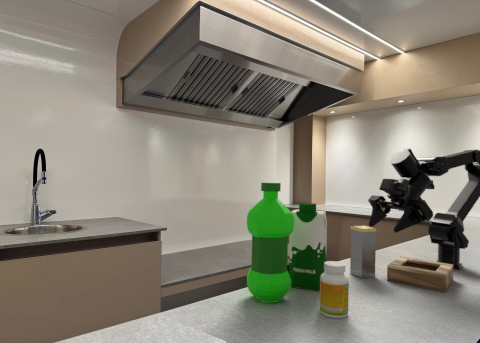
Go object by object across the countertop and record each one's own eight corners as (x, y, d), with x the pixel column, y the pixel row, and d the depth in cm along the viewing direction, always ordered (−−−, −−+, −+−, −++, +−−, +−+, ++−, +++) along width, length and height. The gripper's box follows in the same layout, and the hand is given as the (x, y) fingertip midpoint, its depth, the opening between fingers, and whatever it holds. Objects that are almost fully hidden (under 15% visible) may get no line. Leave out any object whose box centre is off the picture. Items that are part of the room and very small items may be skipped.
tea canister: (363, 271, 94) (364, 225, 95) (375, 276, 90) (376, 228, 90) (349, 273, 93) (350, 226, 93) (361, 278, 88) (362, 228, 88)
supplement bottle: (349, 320, 62) (350, 268, 63) (319, 317, 64) (321, 266, 64) (346, 309, 68) (347, 261, 68) (319, 306, 69) (320, 259, 69)
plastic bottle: (300, 296, 74) (302, 183, 74) (275, 311, 66) (278, 183, 66) (262, 286, 80) (264, 181, 80) (235, 299, 72) (237, 182, 72)
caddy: (400, 270, 97) (400, 256, 97) (452, 279, 89) (453, 264, 89) (387, 280, 87) (387, 265, 87) (445, 292, 79) (445, 275, 79)
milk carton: (285, 288, 80) (287, 203, 80) (292, 277, 88) (294, 200, 88) (323, 293, 77) (325, 205, 77) (327, 281, 85) (328, 202, 85)
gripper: (373, 169, 105) (343, 205, 100) (426, 169, 87) (392, 212, 83) (392, 194, 107) (364, 230, 103) (447, 199, 90) (415, 242, 86)
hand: (381, 228), depth 94 cm, fingers open, 9 cm apart
